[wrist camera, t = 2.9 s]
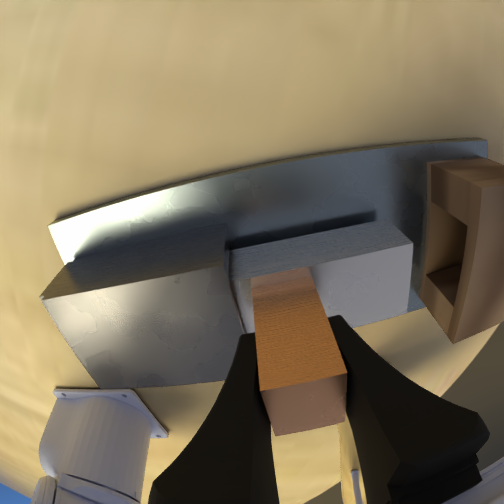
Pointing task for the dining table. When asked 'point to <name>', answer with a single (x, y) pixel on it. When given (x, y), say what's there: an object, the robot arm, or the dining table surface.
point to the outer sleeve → (217, 254)
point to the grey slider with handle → (316, 312)
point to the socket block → (464, 246)
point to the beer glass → (350, 466)
